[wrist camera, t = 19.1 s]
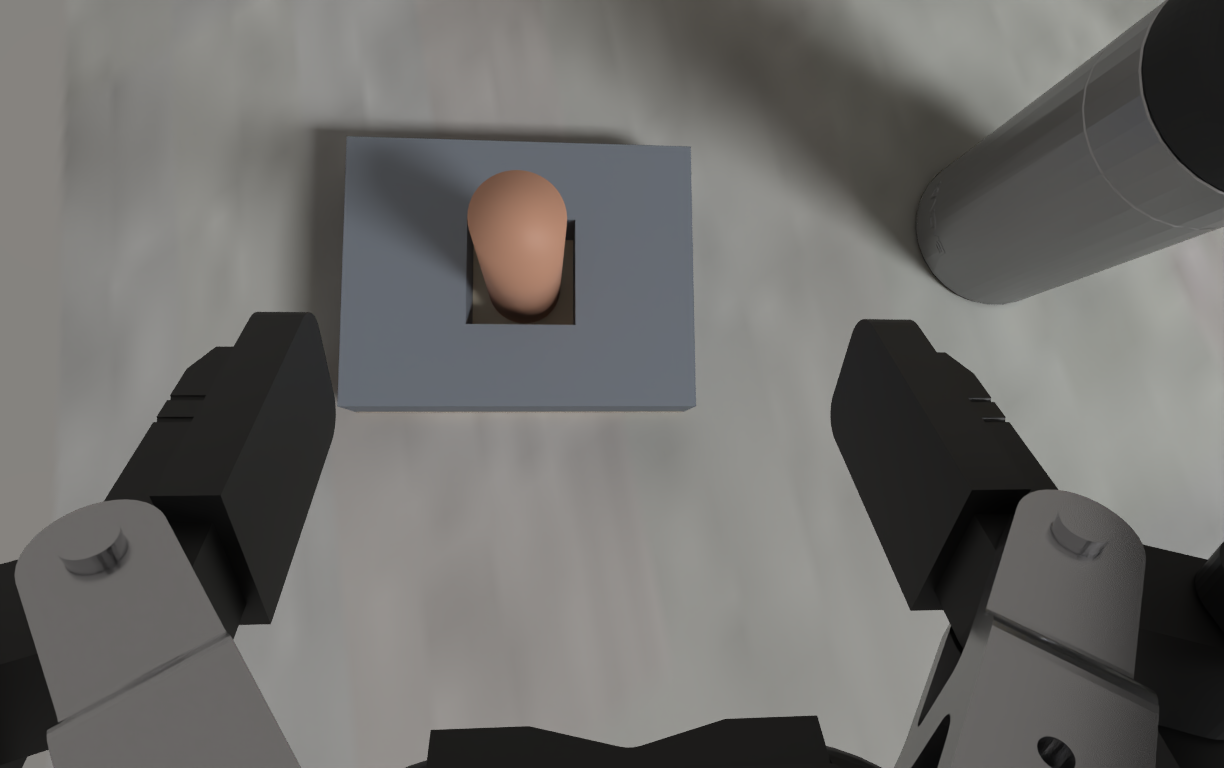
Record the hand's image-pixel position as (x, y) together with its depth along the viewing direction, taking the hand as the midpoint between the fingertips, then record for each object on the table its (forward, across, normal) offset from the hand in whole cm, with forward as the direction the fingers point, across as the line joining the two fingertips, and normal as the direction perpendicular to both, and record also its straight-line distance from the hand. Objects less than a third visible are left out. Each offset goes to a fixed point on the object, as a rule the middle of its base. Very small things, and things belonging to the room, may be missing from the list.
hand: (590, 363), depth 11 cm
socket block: (+28, +2, +16) cm, 32 cm away
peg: (+27, +2, +15) cm, 31 cm away
